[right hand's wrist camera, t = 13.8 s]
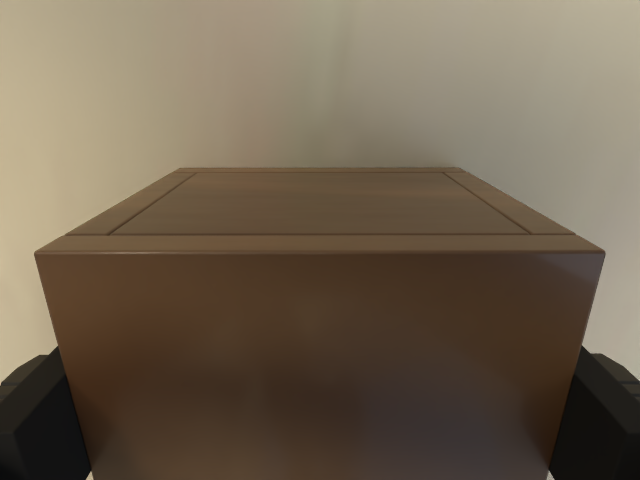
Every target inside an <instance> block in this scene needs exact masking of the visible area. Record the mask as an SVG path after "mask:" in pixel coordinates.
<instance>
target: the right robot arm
mask: <svg viewBox="0 0 640 480" xmlns="http://www.w3.org/2000/svg"><path fill="white" fill-rule="evenodd" d="M549 471H550V473H551V474H552V476H553V478H554V479H555V480H640V381H639V380H638V379H637V378H635V377H634V376H633V375H632V374H631V373H630V372H629V371H628V370H627V369H626V368H625V367H623V366H622V365H620V364H618V363H617V362H615V361H613V360H611V359H610V358H608V357H606V356H605V355H603V354H590V353H589V352H588V351H587V350H586V349H585V348H584V347H583V346H581V350H580V353H579V357H578V361H577V365H576V369H575V372H574V376H573V380H572V384H571V388H570V391H569V395H568V399H567V403H566V407H565V410H564V414H563V418H562V422H561V426H560V430H559V433H558V437H557V441H556V445H555V449H554V452H553V456H552V460H551V464H550V468H549ZM90 472H91V468H90V464H89V460H88V456H87V453H86V449H85V445H84V441H83V438H82V434H81V430H80V426H79V422H78V419H77V415H76V411H75V407H74V404H73V400H72V396H71V392H70V388H69V385H68V381H67V377H66V373H65V370H64V366H63V362H62V358H61V354H60V351H59V347H58V346H57V347H56V348H55V349H54V350H53V351H52V352H51V353H50V354H49V355H39V356H37V357H35V358H33V359H32V360H30V361H28V362H27V363H25V364H23V365H21V366H20V367H18V368H17V369H16V370H15V371H14V372H12V373H11V374H10V375H9V376H8V377H7V378H6V379H5V380H4V381H3V382H2V383H1V386H0V480H86V478H87V477H88V475H89V473H90Z"/></svg>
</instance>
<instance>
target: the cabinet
mask: <svg viewBox="0 0 640 480" xmlns="http://www.w3.org/2000/svg"><path fill="white" fill-rule="evenodd" d="M605 254H606V253H605V250H603V249H601V248H599V247H598V246H596V245H594V244H592V243H591V242H589V241H587V240H585V239H584V238H582V237H580V236H578V235H576V234H575V233H574V232H572V231H570V230H568V229H566V228H565V227H563V226H561V225H559V224H558V223H556V222H554V221H552V220H551V219H549V218H547V217H545V216H544V215H542V214H540V213H538V212H537V211H535V210H533V209H531V208H530V207H528V206H526V205H524V204H523V203H521V202H519V201H517V200H516V199H514V198H512V197H510V196H509V195H507V194H505V193H503V192H502V191H500V190H498V189H496V188H495V187H493V186H491V185H489V184H488V183H486V182H484V181H482V180H481V179H479V178H477V177H475V176H474V175H472V174H470V173H468V172H466V171H464V170H462V169H461V168H179V169H177V170H176V171H174V172H172V173H170V174H168V175H167V176H165V177H163V178H162V179H160V180H158V181H156V182H155V183H153V184H151V185H149V186H148V187H146V188H144V189H143V190H141V191H139V192H137V193H136V194H134V195H132V196H130V197H129V198H127V199H125V200H124V201H122V202H120V203H118V204H117V205H115V206H113V207H111V208H110V209H108V210H106V211H105V212H103V213H101V214H99V215H98V216H96V217H94V218H93V219H91V220H89V221H87V222H86V223H84V224H82V225H80V226H79V227H77V228H75V229H74V230H72V231H70V232H68V233H67V234H65V235H64V236H61V237H59V238H57V239H56V240H54V241H52V242H51V243H49V244H47V245H45V246H44V247H42V248H40V249H38V250H37V251H35V253H34V256H35V260H36V264H37V268H38V271H39V275H40V279H41V283H42V286H43V290H44V294H45V298H46V302H47V305H48V309H49V313H50V317H51V320H52V324H53V328H54V332H55V336H56V339H57V343H58V347H59V351H60V354H61V358H62V362H63V366H64V370H65V373H66V377H67V381H68V385H69V388H70V392H71V396H72V400H73V404H74V407H75V411H76V415H77V419H78V422H79V426H80V430H81V434H82V438H83V441H84V445H85V449H86V453H87V456H88V460H89V464H90V468H91V472H92V475H93V479H94V480H546V479H547V475H548V471H549V468H550V464H551V460H552V456H553V452H554V449H555V445H556V441H557V437H558V433H559V430H560V426H561V422H562V418H563V414H564V410H565V407H566V403H567V399H568V395H569V391H570V388H571V384H572V380H573V376H574V372H575V369H576V365H577V361H578V357H579V353H580V350H581V346H582V342H583V338H584V334H585V330H586V327H587V323H588V319H589V315H590V311H591V308H592V304H593V300H594V296H595V292H596V289H597V285H598V281H599V277H600V273H601V269H602V266H603V262H604V258H605Z"/></svg>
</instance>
